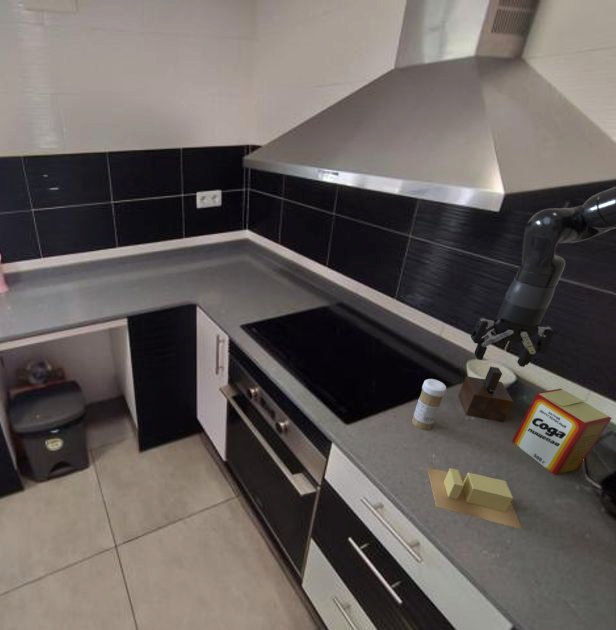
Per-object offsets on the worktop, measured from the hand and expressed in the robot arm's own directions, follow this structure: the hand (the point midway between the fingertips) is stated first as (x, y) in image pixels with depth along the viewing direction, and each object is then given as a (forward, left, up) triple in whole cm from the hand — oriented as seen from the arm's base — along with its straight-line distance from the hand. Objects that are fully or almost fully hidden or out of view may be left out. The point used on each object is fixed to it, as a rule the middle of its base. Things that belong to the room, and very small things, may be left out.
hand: (499, 361), depth 91 cm
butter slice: (+12, +30, -15) cm, 36 cm away
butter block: (+7, +30, -15) cm, 34 cm away
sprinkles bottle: (+15, +11, -16) cm, 25 cm away
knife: (0, 0, -15) cm, 15 cm away
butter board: (+9, +30, -16) cm, 35 cm away
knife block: (0, 0, -16) cm, 16 cm away
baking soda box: (-9, +13, -16) cm, 23 cm away
